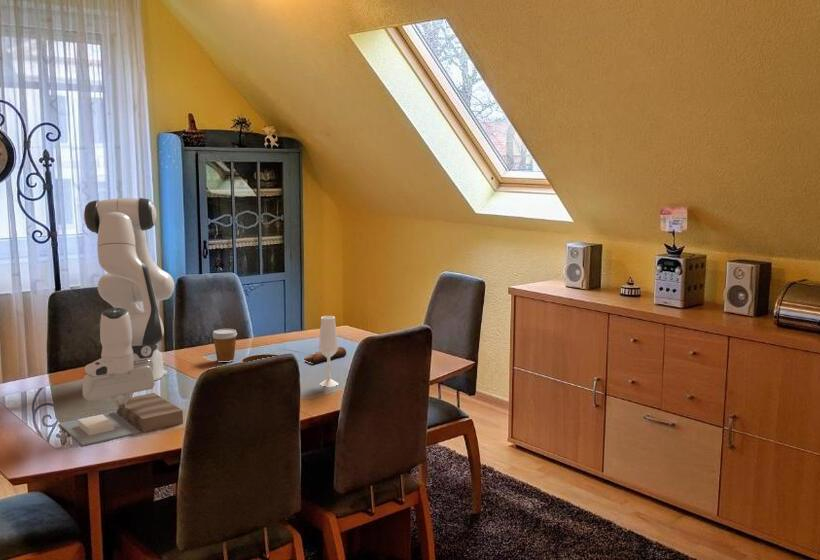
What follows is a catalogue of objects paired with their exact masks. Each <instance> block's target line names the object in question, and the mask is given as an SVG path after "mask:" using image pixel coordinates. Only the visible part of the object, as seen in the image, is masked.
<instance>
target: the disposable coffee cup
mask: <svg viewBox="0 0 820 560" xmlns="http://www.w3.org/2000/svg"><path fill="white" fill-rule="evenodd" d="M237 335H238V332H237V330H236V329H234V328H220V329H216V330H213V331H212V335H211V336H212V338H213V342H214V349H215V355H216V360H218V361H230V360H233V359H234V360H235V352H236V341H237Z"/></svg>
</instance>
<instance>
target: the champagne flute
mask: <svg viewBox="0 0 820 560" xmlns="http://www.w3.org/2000/svg"><path fill="white" fill-rule="evenodd" d="M337 333H338V332H337V325H336V317H335V316H333V315H324V316H321V317H320V330H319V342H318V343H319V344H318V349H319V351H320V352H321V353H322V354H323V355H324V356H325V357H327V359H326V370H327V371H326V372H327V373H326V376H327V377H326V379H325V380H323V381H321V382H320V383H319V386H320V385H321V387H323V386H326V387H325V388H331V387H332V388H333V387H337V386H338V385H339V382H337V381H335V380H334V379H332V377H331V376H332V375H331V358H330V357H332V356H333V355H334V354H335V353H336V352H337V350H338V347H339V344H338V343H339V342H338V334H337ZM336 385H337V386H336Z"/></svg>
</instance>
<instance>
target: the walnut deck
mask: <svg viewBox="0 0 820 560" xmlns="http://www.w3.org/2000/svg"><path fill="white" fill-rule="evenodd" d="M115 400H116V401H117V403H119V402H122V401H123V398H122V399H115ZM126 406H127V408H125V409H120V410H116V414H117V415H118V416H120V417H121V418H123V417H124V418H123V419H124V420H125V421H127V420H128V421H127V422H128V423H130V422H131V423H130V424H131V425H132V426H133V427H135V428H136V429H138V428H139V429H138V430H139V431H140V432H141V431H142V432H143V433H145V432H146V431H147V432H150V430H151V431H155V430H159V429H158V428H160V429H164V428H167V427H166V426H168V427H171V425H173V426H176V425H175V424H177V425H180V424H179V423H181V424H184V416H183V413H184V412H183V409H181V408H179V407H178V406H176V405H174V404H173V403H171V402H170V401H168V400H166V399H164V398H163V397H161V396H160V395H159V394H157V393H155V392H151V393H145V394H141V395H137V396H136V395H135V396H133V397H131V396H130V398H129V399H128V401H127V403H126ZM163 427H164V428H163ZM154 429H155V430H154ZM147 432H146V433H147Z"/></svg>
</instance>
